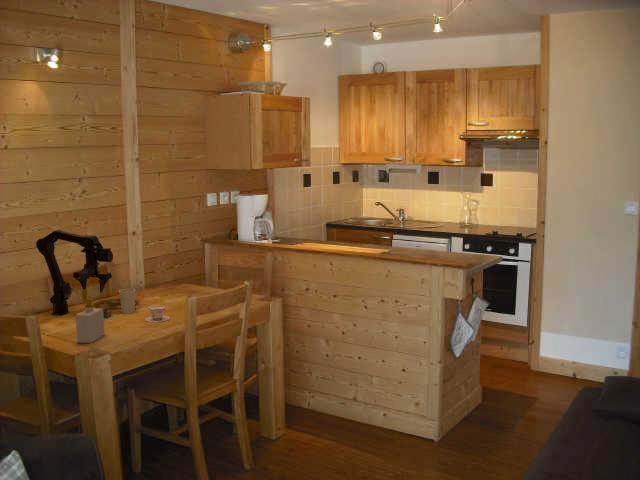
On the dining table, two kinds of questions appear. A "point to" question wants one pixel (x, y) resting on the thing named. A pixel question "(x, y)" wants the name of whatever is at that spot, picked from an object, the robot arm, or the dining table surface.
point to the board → (109, 317)
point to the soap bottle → (89, 322)
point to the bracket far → (107, 314)
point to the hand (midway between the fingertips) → (93, 292)
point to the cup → (127, 300)
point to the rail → (104, 310)
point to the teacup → (157, 314)
